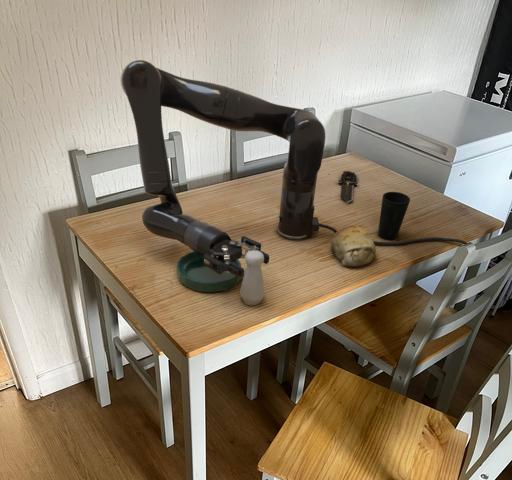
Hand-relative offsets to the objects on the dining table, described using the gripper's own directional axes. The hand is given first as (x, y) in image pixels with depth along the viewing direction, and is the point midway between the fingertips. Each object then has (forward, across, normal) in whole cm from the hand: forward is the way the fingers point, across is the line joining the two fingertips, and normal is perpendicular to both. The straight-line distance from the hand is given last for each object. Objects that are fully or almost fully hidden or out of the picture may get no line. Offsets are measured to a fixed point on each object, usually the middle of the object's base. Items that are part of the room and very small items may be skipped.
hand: (256, 266), depth 123 cm
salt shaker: (0, 0, +10) cm, 10 cm away
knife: (-22, +72, +10) cm, 76 cm away
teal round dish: (-15, 0, +10) cm, 18 cm away
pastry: (+4, +36, +10) cm, 37 cm away
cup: (+5, +54, +10) cm, 55 cm away
